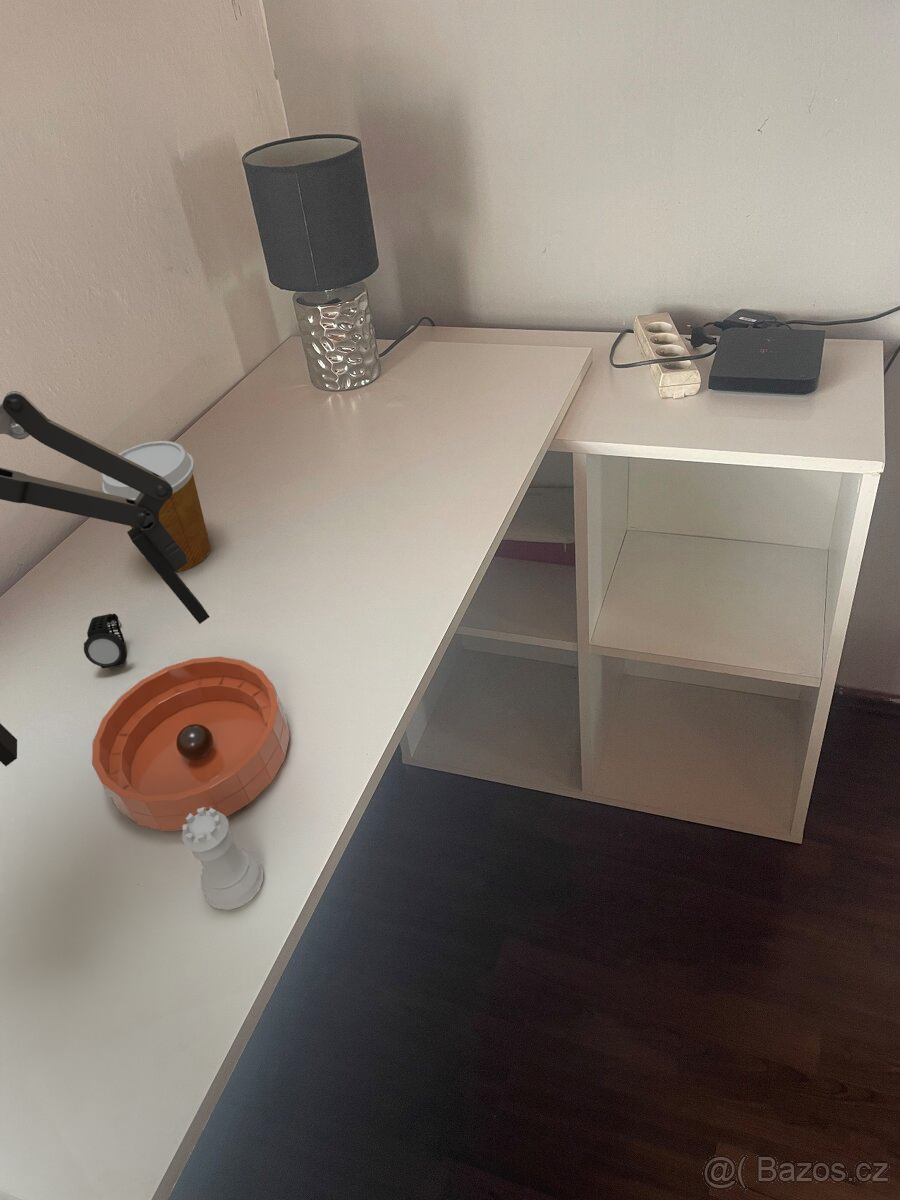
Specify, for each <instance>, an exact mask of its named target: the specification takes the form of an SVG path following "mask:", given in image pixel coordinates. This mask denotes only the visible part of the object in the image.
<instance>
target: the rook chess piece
mask: <svg viewBox="0 0 900 1200" xmlns="http://www.w3.org/2000/svg"><path fill="white" fill-rule="evenodd" d="M197 811H198V814H197V815H195V816H193V815H192V814H191V813H190V814H189V815H188V816H187V817H186V820H187V822H188V823H187V824H185V825H183V830H182V832H181V842H182V844H183V846H184V847H185V849H187V850H189V851H190V852H192V854H193V856H194V857H195V858H196V859H198V860H199V861H200V863H201V866H202V869H201V874H200V888H201V890H202V893H203V896H204V897H205V899H206V902H207V903H208V904H209V905H211V906H212V907H214V909H216V910H226V911H229V910H234V909H236V908H240V907H243V906H244V905H246V904H247V903H249V902H250V901H251V900H253V898H254V897H255V896H256V894H258V892H259V891H260V890H261V887H262V883H263V881H264V869H263V867H262V864H260V862H259V860H258V859H257V858H256V856H255V854H253V853H252V852H251V851H249V850H247V849H245V848H241V847H240V846H237V845H236V844H235V843H234V842H233V835H232V832H231V831H230V830H229V827H230V826H229V820H228V818H227V817H226V816H225V815H224V814H222V813H220V812H218V811H216V810H214V809H212V808H210V809H209V811H206V810H205V808H204V807H203V808H199V809H197Z"/></svg>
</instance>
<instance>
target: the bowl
mask: <svg viewBox="0 0 900 1200" xmlns="http://www.w3.org/2000/svg"><path fill="white" fill-rule="evenodd" d="M191 724H200V725H203V726H205V727H206V728H208V729H209V730H210V732H211V733H212V735H213V740H214V742H213V747H212V750H211V751H210V753H209V754H208V755H207V756H206V757H204V758H202V759H200V760H188V759H186V758H184V757H183V756H182V755H181V754H180V753H179V752H178V750H177V746H176V740H177V736H178V734H179V733H180V731H181V730H182V729H183V728H185V727H186V726H188V725H191ZM289 742H290V730H289V724H288V720H287V715H286V713H285V711H284V708H283V704H282V702H281V700H280V697H279V695H278V693H277V690H276V687H275V685H274V683H272V681H271V680H270V678H269V677H268V676H267V675H266V674H265V673H264V671H263V670H262V669H260V668H258V667H256V666H254V665H252V664H250V663H249V662H247V661H245V660H242V659H236V658H230V657H225V656H209V657H198V658H197V657H196V658H192V659H188V660H185V661H181V662H177V663H174V664H172V665H168V666H165V667H164V668H162V669H160V670H158V671H156V672H154V673H152V674H150V675H148V676H146V677H145V678H142V679H141V680H139V681H138V682H136V683H135V684H134V685H133V686H132V687H131V688H129V689H128V690H127V691H126V692H125V693H123V694H122V695H121V696H120V697H118V699H117V700H116V701H115V702H114V704H113V705H112V706H111V708H110V709H109V710H108V711H107V713H106V714H105V715H104V716H103V718H102V719H101V721H100V724H99V725H98V729H97V731H96V734H95V736H94V738H93V740H92V754H91V755H92V759H91V763H92V766H93V769H94V772H95V773H96V775H97V777H98V779H99V781H100V783H101V785H102V787H103V788H104V790H105V791H106V793H107V794H108V795H109V796H110V798H111V800H112V801H113V803H114V804H115V806H116V808H117V809H118V811H119V812H120V813H122V814H123V815H124V816H125V817H126V818H128V819H130V821H132V822H134V823H135V824H136V825H138V826H141V827H145V828H150V829H154V830H157V831H162V832H173V831H183V825H185V824H187V823H188V822H187V820H186V817H187V816H188V815H189V814H190V813H191V814H192V815H193V816H195V815H197V814H198V811H197V809H199V808H203V807H204V808H205V810H206V811H209V809H210V808H212V809H214V810H216V811H218V812H220V813H222V814H224V815H225V816H226V818H227V817H230V816H231V815H233V814H234V813H236V812H238V811H240V810H241V809H242V808H244V807H246V806H247V805H248V804H250V803H252V802H253V801H254V800H255V799H256V797H257V796H259V795H260V794H261V793H262V792H263V791H264V790H265V789H266V788H267V787H268V786H269V785H270V784H271V783H272V781H273V780H274V778H275V777H276V775H277V773H278V772H279V770H280V768H281V766H282V764H283V763H284V761H285V760H286V756H287V751H288V746H289Z"/></svg>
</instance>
